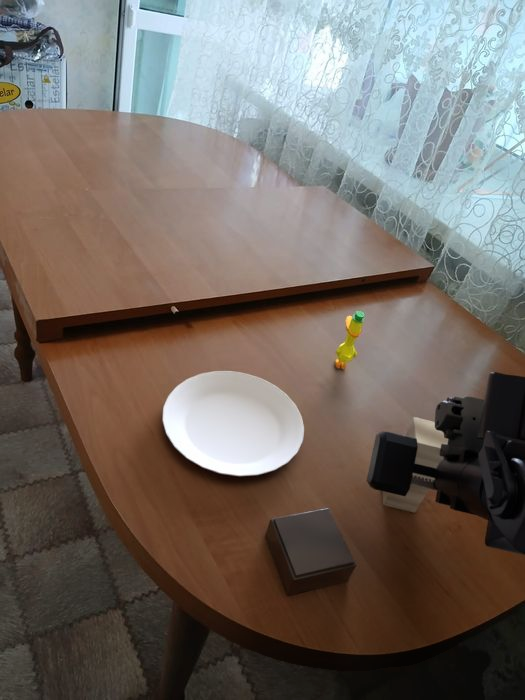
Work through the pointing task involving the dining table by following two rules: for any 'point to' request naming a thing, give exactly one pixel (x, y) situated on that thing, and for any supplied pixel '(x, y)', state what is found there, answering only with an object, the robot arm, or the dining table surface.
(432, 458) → the block
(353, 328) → the toy figure
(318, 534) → the stand
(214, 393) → the plate
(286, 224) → the dining table surface
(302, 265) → the dining table surface
